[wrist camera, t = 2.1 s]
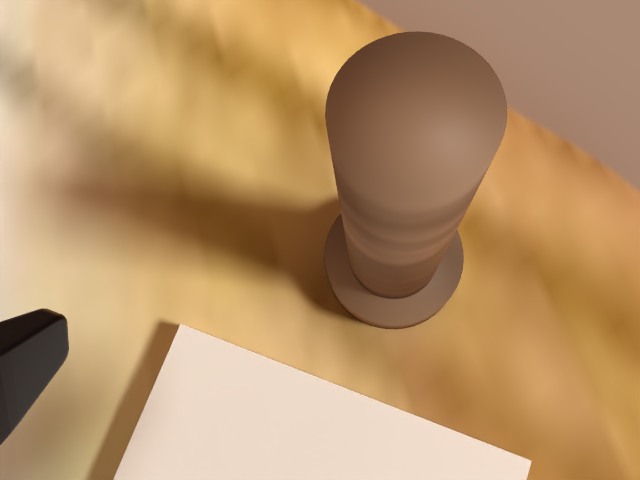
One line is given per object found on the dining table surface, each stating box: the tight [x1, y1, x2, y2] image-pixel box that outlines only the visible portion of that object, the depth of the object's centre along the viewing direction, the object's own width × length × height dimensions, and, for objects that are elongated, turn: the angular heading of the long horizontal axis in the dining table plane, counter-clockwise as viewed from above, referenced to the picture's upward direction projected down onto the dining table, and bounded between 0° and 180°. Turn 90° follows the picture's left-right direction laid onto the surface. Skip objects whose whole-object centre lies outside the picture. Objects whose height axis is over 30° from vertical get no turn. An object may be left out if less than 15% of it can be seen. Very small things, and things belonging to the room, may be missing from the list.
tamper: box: [325, 32, 507, 329], centre depth 16 cm, size 5×5×12 cm
